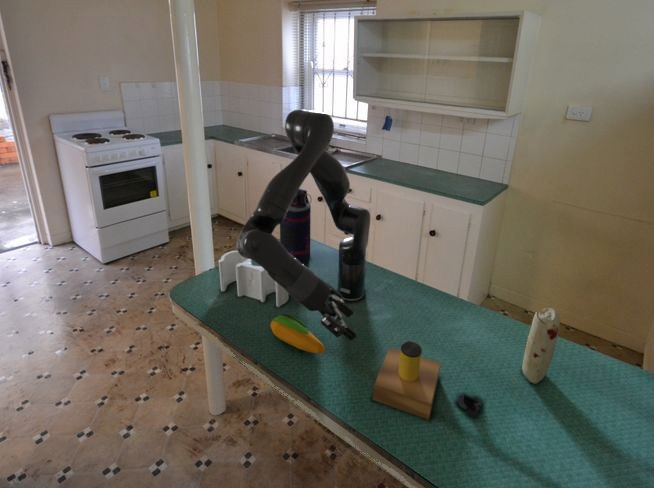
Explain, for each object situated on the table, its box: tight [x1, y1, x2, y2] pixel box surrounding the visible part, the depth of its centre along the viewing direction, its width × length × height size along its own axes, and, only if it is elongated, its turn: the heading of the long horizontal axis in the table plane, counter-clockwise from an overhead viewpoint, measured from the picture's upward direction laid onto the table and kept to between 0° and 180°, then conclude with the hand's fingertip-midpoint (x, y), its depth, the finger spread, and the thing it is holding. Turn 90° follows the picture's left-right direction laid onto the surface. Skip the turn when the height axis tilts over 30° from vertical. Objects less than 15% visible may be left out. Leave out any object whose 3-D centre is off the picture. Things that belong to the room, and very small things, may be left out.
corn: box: [269, 314, 326, 354], centre depth 117 cm, size 7×8×20 cm
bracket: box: [218, 249, 290, 308], centre depth 140 cm, size 25×10×12 cm, turn 67°
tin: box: [399, 341, 422, 381], centre depth 101 cm, size 5×5×8 cm
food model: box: [521, 307, 561, 384], centre depth 107 cm, size 10×7×20 cm
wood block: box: [372, 346, 442, 420], centre depth 104 cm, size 14×14×5 cm
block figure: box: [456, 394, 482, 418], centre depth 100 cm, size 6×2×6 cm
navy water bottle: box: [279, 188, 312, 265], centre depth 158 cm, size 14×12×30 cm
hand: (352, 325), depth 101 cm, fingers open, 8 cm apart
